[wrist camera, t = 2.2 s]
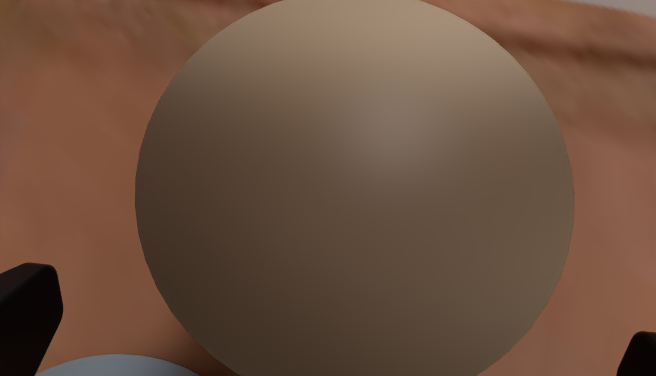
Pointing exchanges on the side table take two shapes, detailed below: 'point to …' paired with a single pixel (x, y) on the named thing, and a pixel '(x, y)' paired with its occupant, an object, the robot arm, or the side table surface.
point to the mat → (118, 367)
